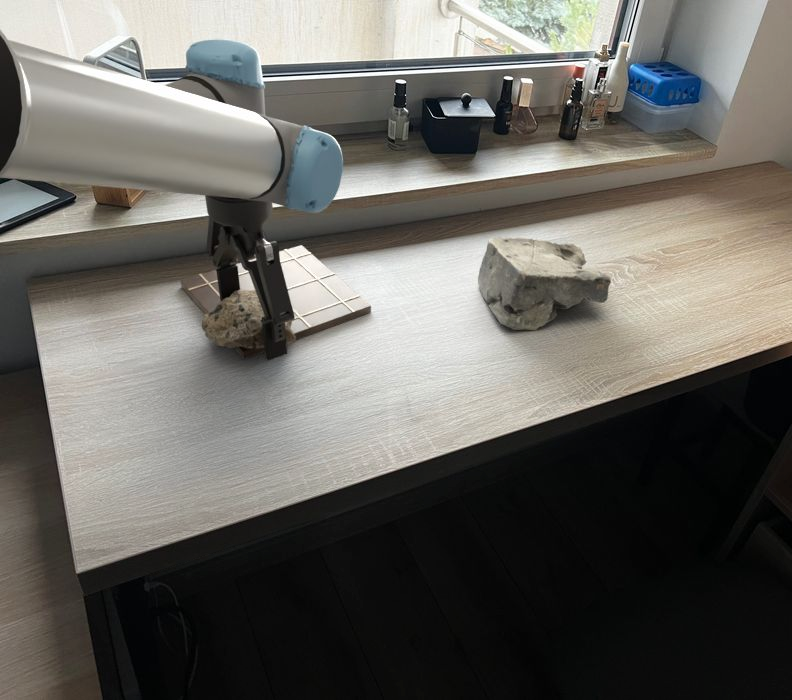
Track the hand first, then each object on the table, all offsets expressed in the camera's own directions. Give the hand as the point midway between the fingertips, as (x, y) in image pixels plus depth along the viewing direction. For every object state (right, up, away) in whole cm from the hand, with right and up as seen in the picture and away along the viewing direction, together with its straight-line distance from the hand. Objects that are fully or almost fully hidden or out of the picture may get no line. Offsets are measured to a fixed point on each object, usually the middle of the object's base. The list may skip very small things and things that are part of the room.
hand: (253, 330), depth 97 cm
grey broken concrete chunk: (+40, +5, +16) cm, 43 cm away
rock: (0, 0, 0) cm, 1 cm away
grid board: (+1, +5, +9) cm, 10 cm away
